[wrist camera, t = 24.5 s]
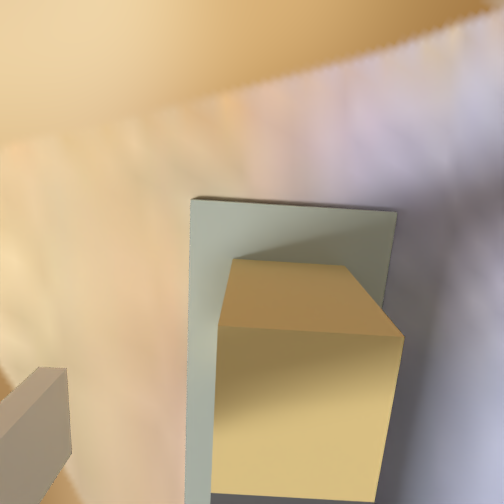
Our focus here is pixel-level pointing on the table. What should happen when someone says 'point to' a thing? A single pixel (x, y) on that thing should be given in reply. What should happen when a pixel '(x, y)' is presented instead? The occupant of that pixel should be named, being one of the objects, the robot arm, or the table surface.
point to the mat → (266, 249)
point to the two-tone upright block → (301, 386)
